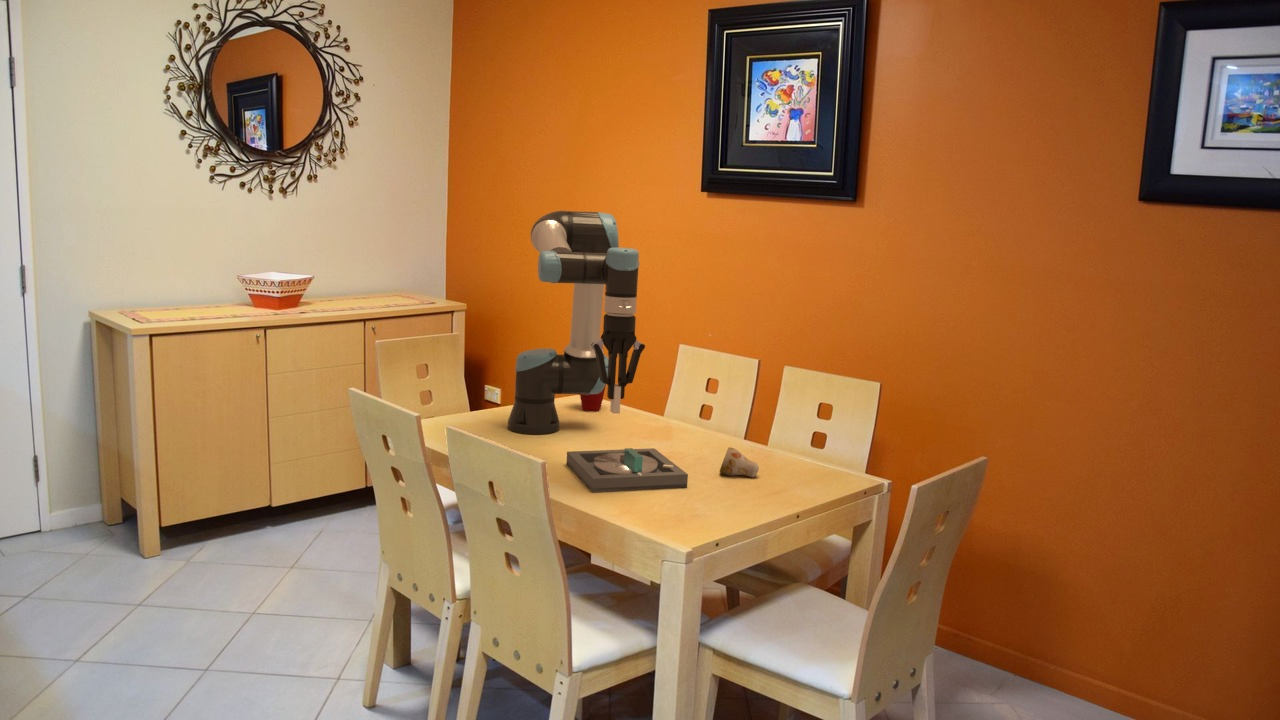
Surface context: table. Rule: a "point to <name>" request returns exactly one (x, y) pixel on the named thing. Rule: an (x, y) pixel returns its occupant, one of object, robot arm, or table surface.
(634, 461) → the dial
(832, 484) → the table surface
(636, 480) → the housing
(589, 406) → the plastic cup
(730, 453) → the beige spotted tapered lump
